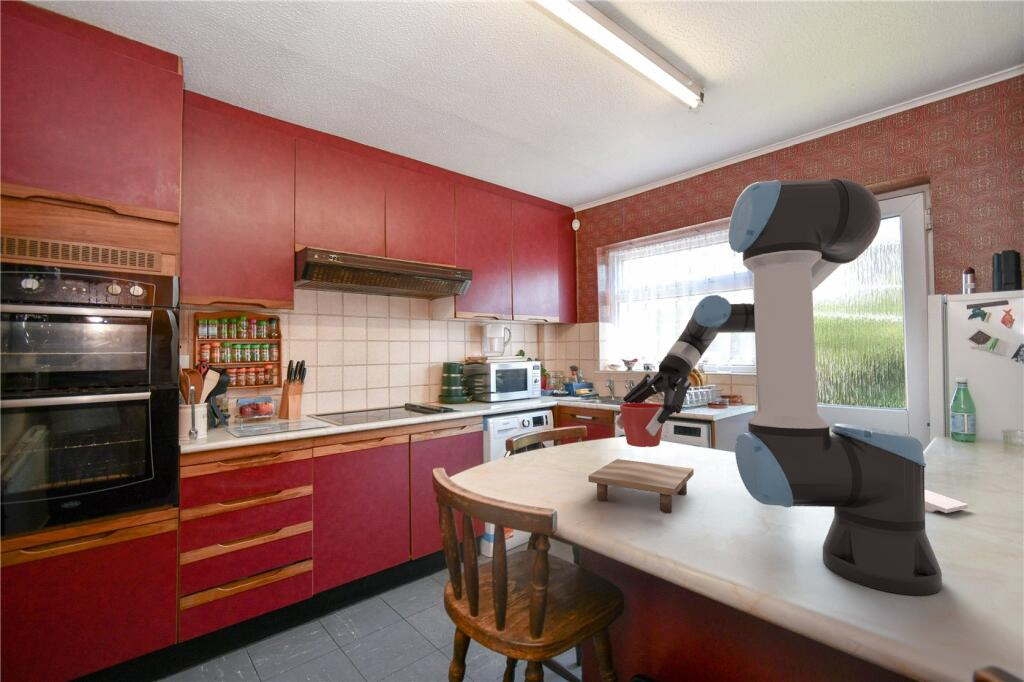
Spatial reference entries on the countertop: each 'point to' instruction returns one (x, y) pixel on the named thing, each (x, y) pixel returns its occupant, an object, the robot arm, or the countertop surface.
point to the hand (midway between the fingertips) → (633, 428)
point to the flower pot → (640, 424)
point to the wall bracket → (942, 503)
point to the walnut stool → (643, 479)
